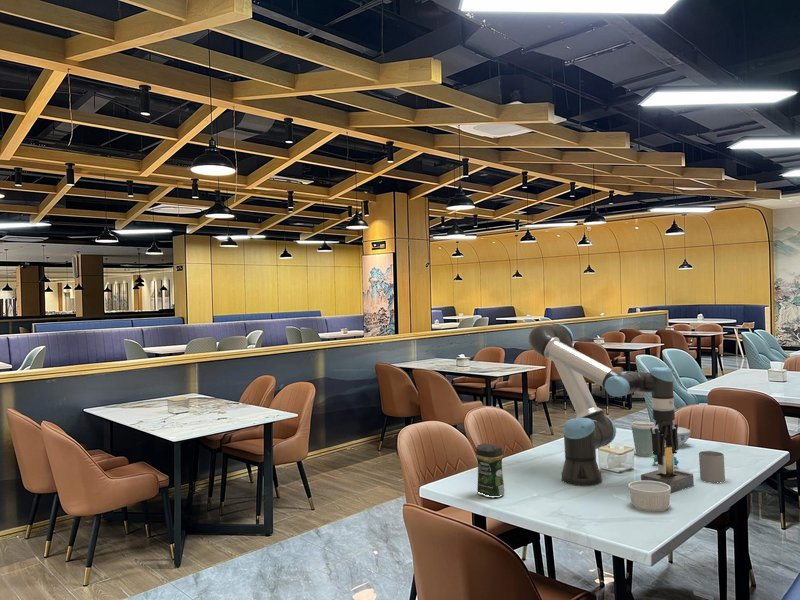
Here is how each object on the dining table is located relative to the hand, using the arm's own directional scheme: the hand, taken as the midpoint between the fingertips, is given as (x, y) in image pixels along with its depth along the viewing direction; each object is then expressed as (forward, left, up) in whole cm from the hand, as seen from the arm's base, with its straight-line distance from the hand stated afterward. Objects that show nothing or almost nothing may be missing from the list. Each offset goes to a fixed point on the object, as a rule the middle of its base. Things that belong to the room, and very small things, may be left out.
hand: (666, 471), depth 216 cm
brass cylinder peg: (0, 0, -3) cm, 3 cm away
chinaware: (+56, +35, -5) cm, 66 cm away
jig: (0, 0, -5) cm, 5 cm away
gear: (+22, +16, -5) cm, 28 cm away
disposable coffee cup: (+32, +33, -5) cm, 46 cm away
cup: (+19, -6, -5) cm, 21 cm away
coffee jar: (-58, +32, -5) cm, 66 cm away
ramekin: (-24, -10, -5) cm, 27 cm away
